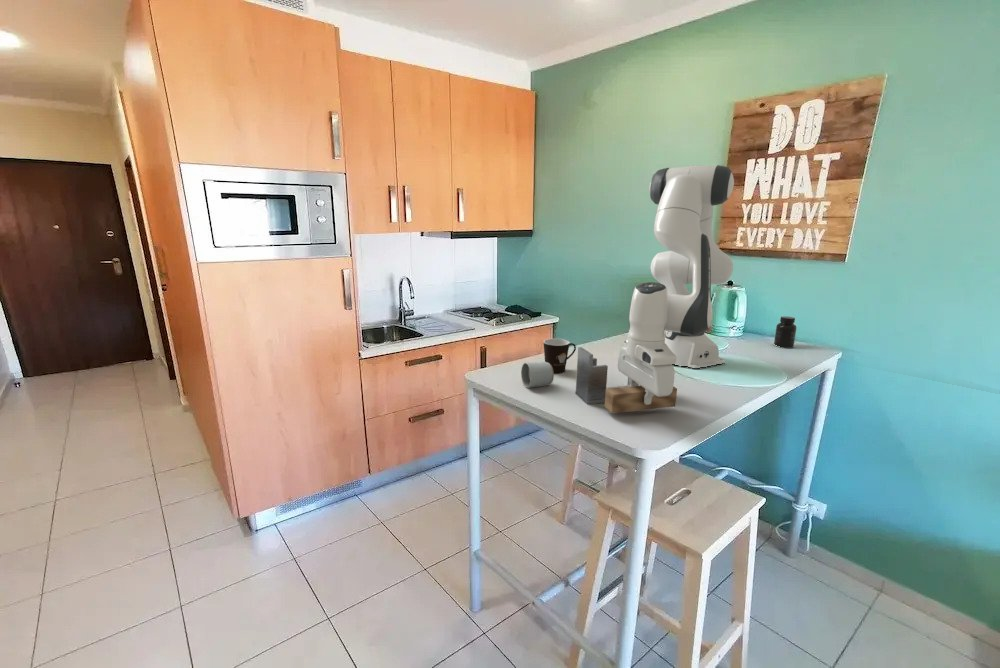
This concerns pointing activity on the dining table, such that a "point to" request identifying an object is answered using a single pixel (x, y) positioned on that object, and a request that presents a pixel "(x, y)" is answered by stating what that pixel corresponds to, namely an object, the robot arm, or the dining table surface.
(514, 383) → the dining table surface
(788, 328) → the supplement bottle
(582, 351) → the bracket pair
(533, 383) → the ceramic mug
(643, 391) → the rail
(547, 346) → the coffee mug
